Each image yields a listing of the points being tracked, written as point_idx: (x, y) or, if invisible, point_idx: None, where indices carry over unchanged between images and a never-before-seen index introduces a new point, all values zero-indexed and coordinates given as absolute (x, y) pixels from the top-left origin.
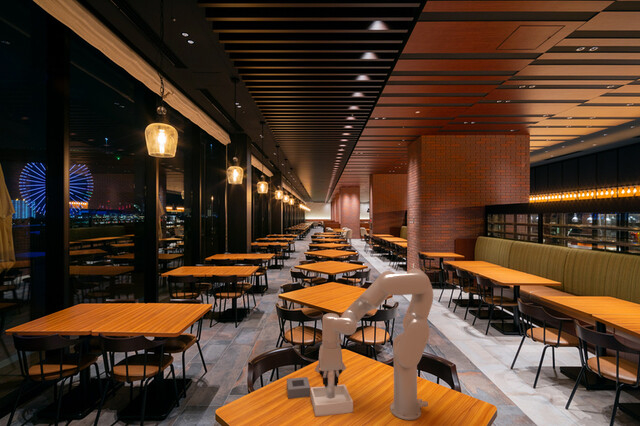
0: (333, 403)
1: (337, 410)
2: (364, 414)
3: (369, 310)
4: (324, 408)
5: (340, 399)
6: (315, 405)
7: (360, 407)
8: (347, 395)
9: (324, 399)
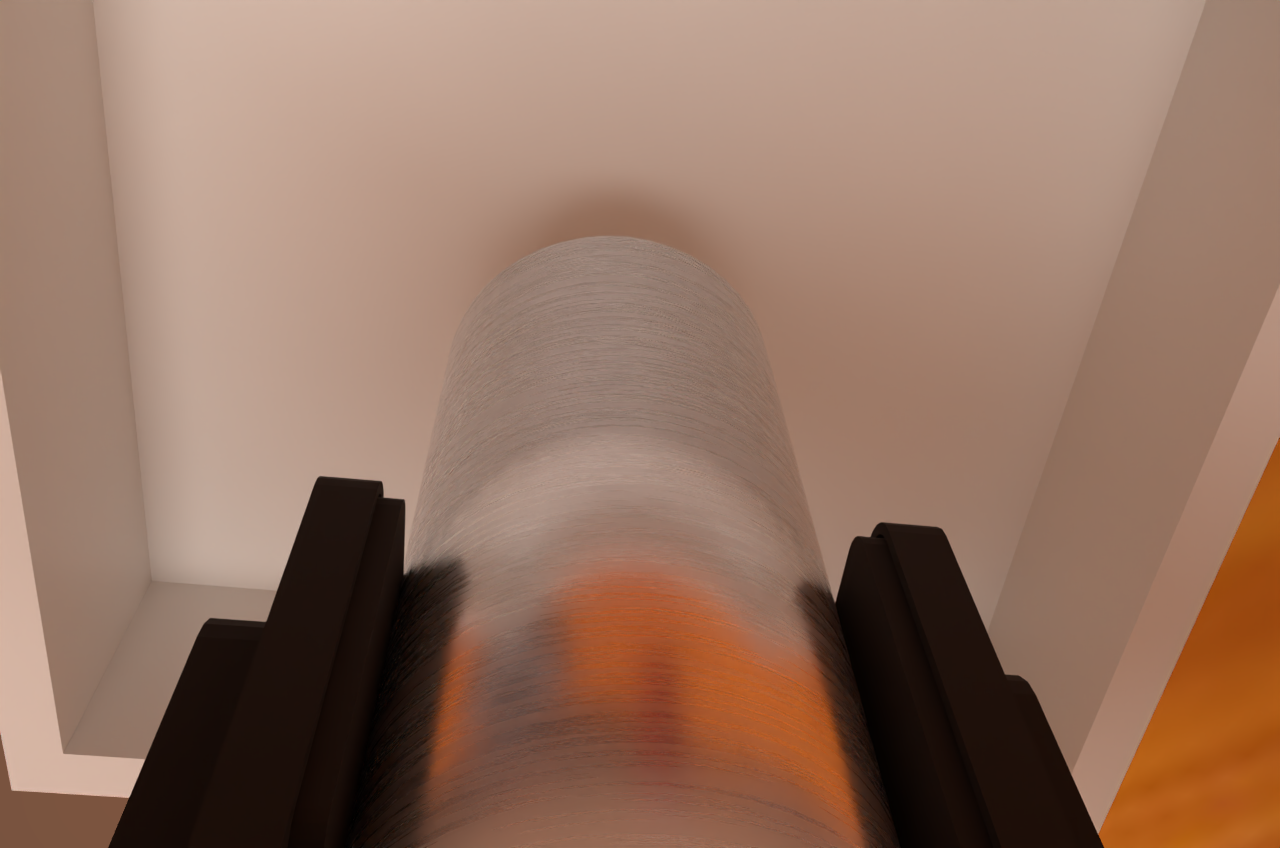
0: None
1: None
2: (1183, 754)
3: None
4: None
5: (975, 181)
6: (15, 785)
7: (1273, 550)
8: (1151, 509)
9: (481, 33)
